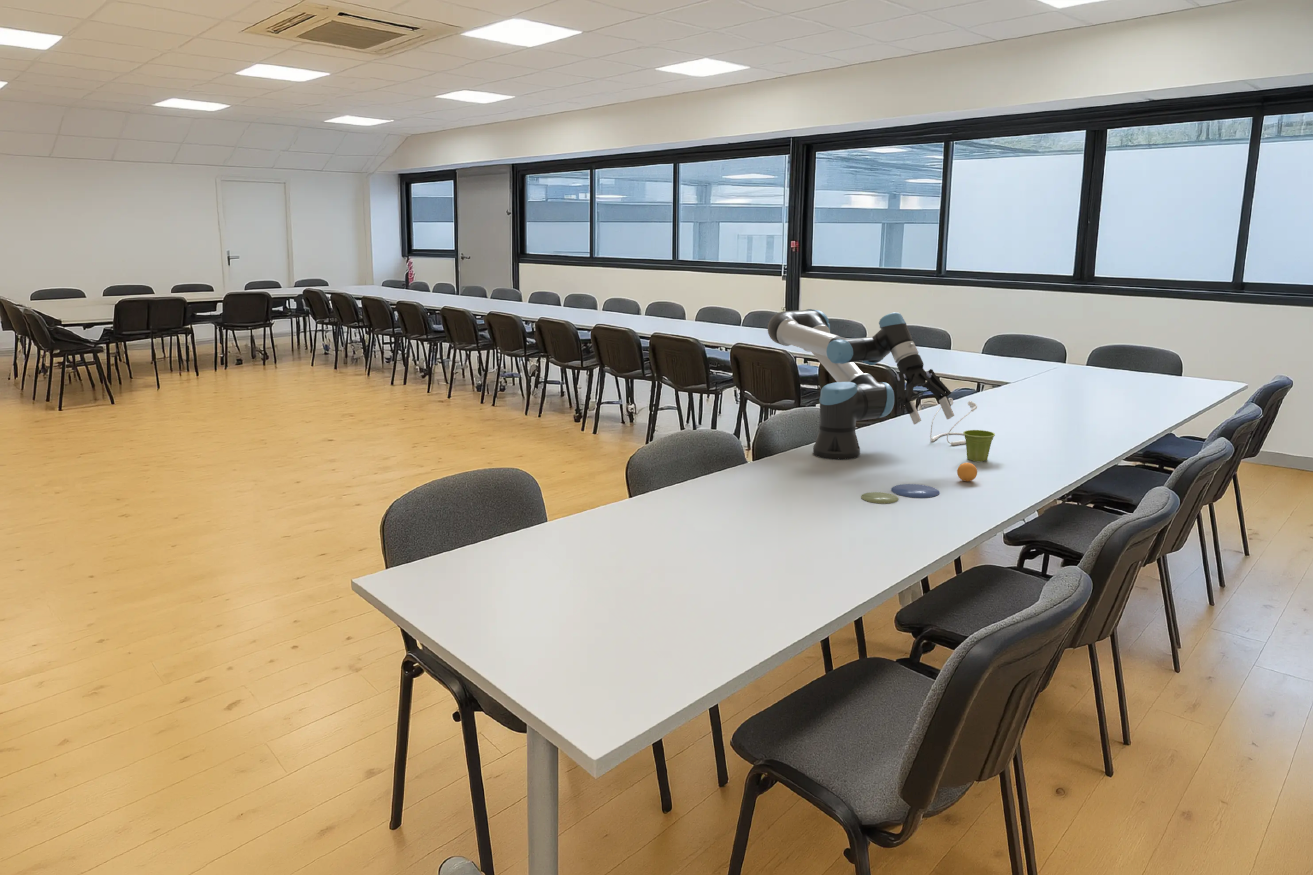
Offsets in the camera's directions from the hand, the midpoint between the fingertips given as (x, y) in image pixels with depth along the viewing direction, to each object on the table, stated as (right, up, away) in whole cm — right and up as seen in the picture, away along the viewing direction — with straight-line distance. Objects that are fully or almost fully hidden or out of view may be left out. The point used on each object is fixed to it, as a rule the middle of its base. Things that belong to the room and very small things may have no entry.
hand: (934, 420), depth 259 cm
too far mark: (-23, -22, -25) cm, 41 cm away
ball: (+6, -15, -11) cm, 20 cm away
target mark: (-12, -20, -19) cm, 30 cm away
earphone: (+20, -6, +40) cm, 45 cm away
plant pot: (+18, -13, +14) cm, 26 cm away
